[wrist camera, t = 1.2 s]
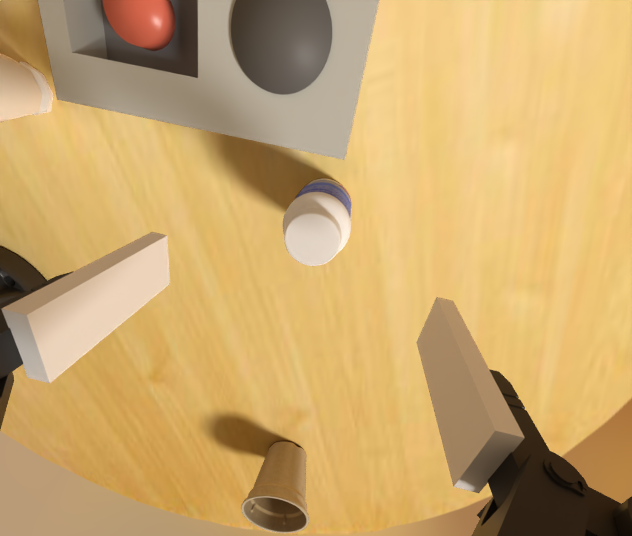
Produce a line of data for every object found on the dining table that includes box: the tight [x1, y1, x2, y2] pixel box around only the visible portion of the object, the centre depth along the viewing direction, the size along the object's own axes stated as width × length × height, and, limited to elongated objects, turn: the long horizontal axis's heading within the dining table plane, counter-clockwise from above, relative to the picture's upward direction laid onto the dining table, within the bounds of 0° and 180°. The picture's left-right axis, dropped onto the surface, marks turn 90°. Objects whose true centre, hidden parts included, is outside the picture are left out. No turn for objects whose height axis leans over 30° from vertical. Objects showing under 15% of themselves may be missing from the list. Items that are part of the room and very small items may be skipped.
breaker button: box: [103, 0, 175, 51], centre depth 21 cm, size 4×4×2 cm
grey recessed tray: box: [38, 0, 380, 159], centre depth 22 cm, size 24×14×4 cm, turn 80°
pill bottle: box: [283, 178, 352, 266], centre depth 25 cm, size 5×5×10 cm
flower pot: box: [241, 441, 309, 533], centre depth 44 cm, size 9×9×9 cm
